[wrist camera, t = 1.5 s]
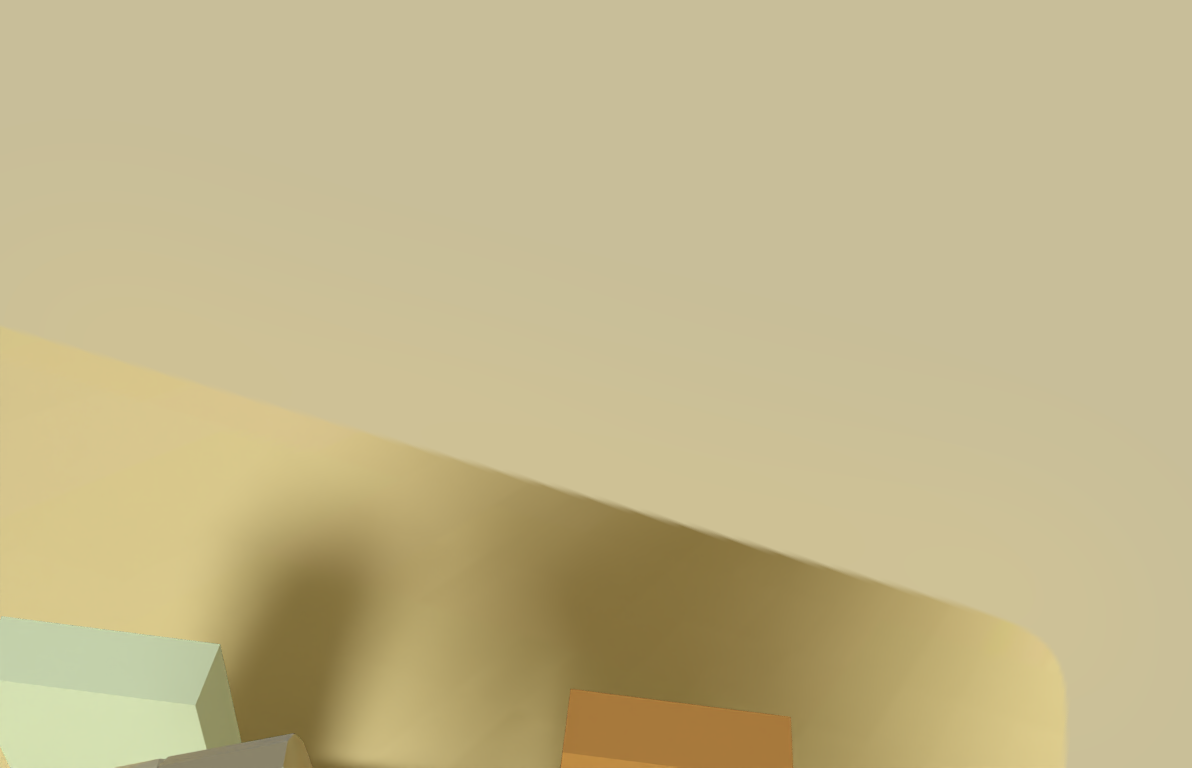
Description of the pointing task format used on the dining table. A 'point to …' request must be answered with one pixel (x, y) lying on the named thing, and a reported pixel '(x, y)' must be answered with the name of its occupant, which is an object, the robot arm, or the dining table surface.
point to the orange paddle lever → (670, 735)
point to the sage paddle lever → (108, 696)
